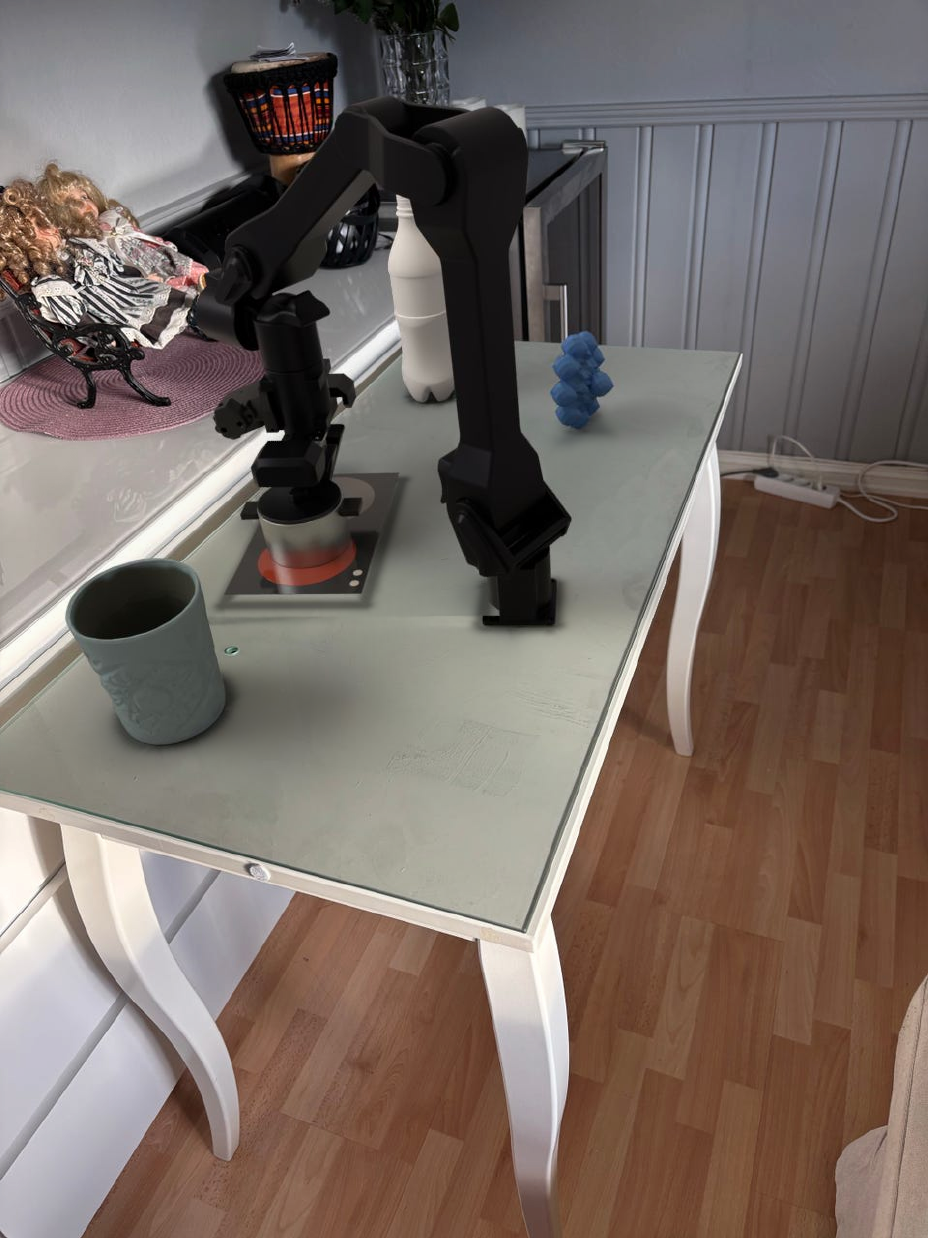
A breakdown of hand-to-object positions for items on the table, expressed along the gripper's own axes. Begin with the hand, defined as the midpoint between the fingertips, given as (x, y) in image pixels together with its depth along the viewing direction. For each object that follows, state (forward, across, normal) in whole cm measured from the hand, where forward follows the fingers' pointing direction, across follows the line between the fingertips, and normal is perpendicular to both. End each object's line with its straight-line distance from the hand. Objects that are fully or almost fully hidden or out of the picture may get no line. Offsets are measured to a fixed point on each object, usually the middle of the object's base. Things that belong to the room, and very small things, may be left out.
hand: (321, 499), depth 96 cm
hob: (+2, +4, 0) cm, 4 cm away
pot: (+1, +7, 0) cm, 7 cm away
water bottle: (+3, -30, +8) cm, 31 cm away
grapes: (+3, -19, +28) cm, 34 cm away
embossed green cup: (+2, +29, -6) cm, 30 cm away
